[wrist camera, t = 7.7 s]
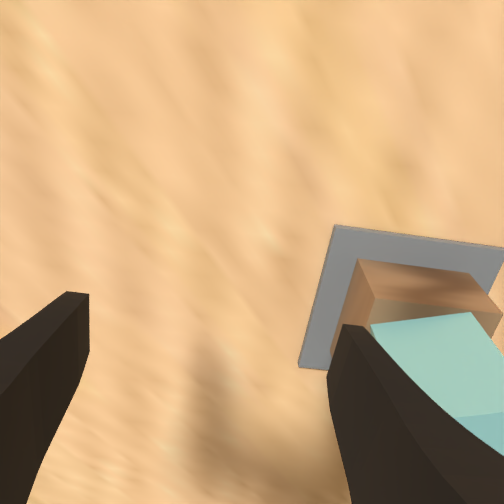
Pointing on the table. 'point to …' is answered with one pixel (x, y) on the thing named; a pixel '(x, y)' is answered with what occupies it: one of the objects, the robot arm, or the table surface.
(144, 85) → the table surface
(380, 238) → the mat
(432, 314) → the walnut block
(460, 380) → the teal block
